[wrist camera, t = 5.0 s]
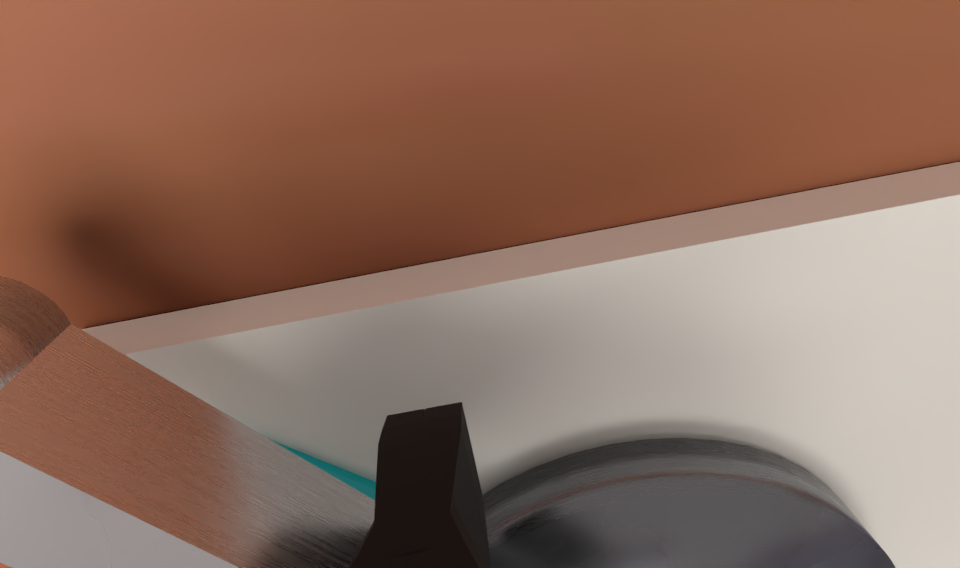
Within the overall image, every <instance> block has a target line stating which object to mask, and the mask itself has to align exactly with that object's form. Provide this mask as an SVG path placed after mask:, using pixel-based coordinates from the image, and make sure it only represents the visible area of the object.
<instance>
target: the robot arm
mask: <svg viewBox="0 0 960 568" xmlns="http://www.w3.org/2000/svg"><path fill="white" fill-rule="evenodd" d="M347 568H490V556H489V544H488V535H487V527H486V519H485V512H484V504H483V496H482V491H481V486H480V482H479V477H478V473H477V468H476V464H475V459H474V455H473V450H472V446H471V441H470V437H469V432H468V428H467V423H466V419H465V414H464V410H463V405H462V402H458V403H453V404H447V405H442V406H436V407H431V408H426V409H425V410H424V409H420V410H414V411H409V412H403V413H398V414H392V415H387V417H386V420H385V423H384V426H383V428H382V432H381V435H380V439H379V443H378V456H377V473H376V493H375V513H374V522H373V523H372V525H371V527H370V529H369V531H368V532H367V534H366V536H365V538H364V540H363V541H362V543H361V545H360V547H359V549H358V550H357V552H356V554H355V556H354V557H353V559H352V560H351V562H350V564H349V565H348V567H347Z"/></svg>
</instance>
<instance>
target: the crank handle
mask: <svg viewBox="0 0 960 568" xmlns="http://www.w3.org/2000/svg"><path fill="white" fill-rule="evenodd" d="M482 496H483V504H484V512H485V519H486V527H487V535H488V544H489V556H490V568H896V567H895V566H894V564H893V562H892V561H891V559H890V558H889V556H888V555H887V554H886V553H885V551H884V550H883V549H882V548H881V547H880V545H879V544H878V543H877V542H876V541H875V539H874V538H873V537H872V536H871V535H870V533H869V532H868V531H867V530H866V529H865V527H864V526H863V525H862V524H861V523H860V521H859V520H858V519H857V518H856V517H855V515H854V514H853V513H852V512H851V511H850V509H849V508H848V507H847V506H846V504H845V503H844V502H843V501H842V500H841V499H840V498H839V497H838V496H837V495H836V494H835V493H834V492H833V491H832V489H831V488H830V487H829V486H828V485H827V484H825V483H824V482H823V481H821V480H820V479H818V478H817V477H816V476H814V475H813V474H812V473H810V472H809V471H807V470H806V469H804V468H802V467H800V466H798V465H796V464H794V463H792V462H790V461H788V460H786V459H784V458H782V457H780V456H778V455H775V454H772V453H769V452H766V451H763V450H760V449H757V448H754V447H750V446H745V445H740V444H735V443H730V442H724V441H719V440H707V439H693V438H664V439H644V440H637V441H630V442H623V443H616V444H609V445H605V446H601V447H597V448H593V449H589V450H585V451H581V452H577V453H573V454H569V455H567V456H564V457H561V458H558V459H556V460H553V461H550V462H547V463H545V464H542V465H539V466H536V467H534V468H532V469H530V470H528V471H526V472H523V473H521V474H519V475H517V476H515V477H513V478H511V479H509V480H507V481H505V482H503V483H501V484H499V485H498V486H496V487H494V488H493V489H491V490H490V491H488V492H486V493H485V494H483V495H482ZM374 513H375V500H373V499H371V498H370V497H368V496H366V495H365V494H363V493H361V492H359V491H358V490H356V489H354V488H353V487H351V486H349V485H347V484H346V483H344V482H342V481H340V480H339V479H337V478H335V477H334V476H332V475H330V474H328V473H327V472H325V471H323V470H322V469H320V468H318V467H316V466H315V465H313V464H311V463H310V462H308V461H306V460H304V459H303V458H301V457H299V456H298V455H296V454H294V453H292V452H291V451H289V450H287V449H285V448H284V447H282V446H280V445H279V444H277V443H275V442H273V441H272V440H270V439H268V438H267V437H265V436H263V435H261V434H260V433H258V432H256V431H255V430H253V429H251V428H249V427H248V426H246V425H244V424H243V423H241V422H239V421H237V420H236V419H234V418H232V417H230V416H229V415H227V414H225V413H224V412H222V411H220V410H218V409H217V408H215V407H213V406H212V405H210V404H208V403H206V402H205V401H203V400H201V399H200V398H198V397H196V396H194V395H193V394H191V393H189V392H188V391H186V390H184V389H182V388H181V387H179V386H177V385H175V384H174V383H172V382H170V381H169V380H167V379H165V378H163V377H162V376H160V375H158V374H157V373H155V372H153V371H151V370H150V369H148V368H146V367H145V366H143V365H141V364H139V363H138V362H136V361H134V360H133V359H131V358H129V357H127V356H126V355H124V354H122V353H120V352H119V351H117V350H115V349H114V348H112V347H110V346H108V345H107V344H105V343H103V342H102V341H100V340H98V339H96V338H95V337H93V336H91V335H90V334H88V333H86V332H84V331H83V330H81V329H79V328H78V327H76V326H74V325H72V324H71V323H70V321H69V320H68V318H67V316H66V315H65V314H64V313H63V312H62V310H61V309H60V308H59V307H58V306H57V305H56V304H55V303H54V302H53V301H51V300H50V299H49V298H48V297H47V296H45V295H44V294H42V293H41V292H39V291H38V290H36V289H34V288H32V287H30V286H28V285H26V284H24V283H21V282H19V281H16V280H13V279H10V278H6V277H1V276H0V563H3V564H5V565H7V566H10V567H12V568H347V567H348V565H349V564H350V562H351V560H352V559H353V557H354V556H355V554H356V552H357V550H358V549H359V547H360V545H361V543H362V541H363V540H364V538H365V536H366V534H367V532H368V531H369V529H370V527H371V525H372V523H373V522H374Z"/></svg>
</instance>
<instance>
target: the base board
mask: <svg viewBox="0 0 960 568" xmlns="http://www.w3.org/2000/svg"><path fill="white" fill-rule="evenodd" d="M83 331H84V332H86V333H88V334H90V335H91V336H93V337H95V338H96V339H98V340H100V341H102V342H103V343H105V344H107V345H108V346H110V347H112V348H114V349H115V350H117V351H119V352H120V353H122V354H124V355H126V356H127V357H129V358H131V359H133V360H134V361H136V362H138V363H139V364H141V365H143V366H145V367H146V368H148V369H150V370H151V371H153V372H155V373H157V374H158V375H160V376H162V377H163V378H165V379H167V380H169V381H170V382H172V383H174V384H175V385H177V386H179V387H181V388H182V389H184V390H186V391H188V392H189V393H191V394H193V395H194V396H196V397H198V398H200V399H201V400H203V401H205V402H206V403H208V404H210V405H212V406H213V407H215V408H217V409H218V410H220V411H222V412H224V413H225V414H227V415H229V416H230V417H232V418H234V419H236V420H237V421H239V422H241V423H243V424H244V425H246V426H248V427H249V428H251V429H253V430H255V431H256V432H258V433H260V434H261V435H263V436H265V437H267V438H268V439H270V440H272V441H273V442H275V443H277V444H279V445H280V446H282V447H284V448H285V449H287V450H289V451H291V452H292V453H294V454H296V455H298V456H299V457H301V458H303V459H304V460H306V461H308V462H310V463H311V464H313V465H315V466H316V467H318V468H320V469H322V470H323V471H325V472H327V473H328V474H330V475H332V476H334V477H335V478H337V479H339V480H340V481H342V482H344V483H346V484H347V485H349V486H351V487H353V488H354V489H356V490H358V491H359V492H361V493H363V494H365V495H366V496H368V497H370V498H371V499H373V500H375V493H376V473H377V456H378V443H379V439H380V435H381V432H382V428H383V426H384V423H385V420H386V417H387V415H392V414H398V413H403V412H409V411H414V410H420V409H424V410H425V409H426V408H431V407H436V406H442V405H447V404H453V403H458V402H462V405H463V410H464V414H465V419H466V423H467V428H468V432H469V437H470V441H471V446H472V450H473V455H474V459H475V464H476V468H477V473H478V477H479V482H480V486H481V491H482V495H483V494H485V493H486V492H488V491H490V490H491V489H493V488H494V487H496V486H498V485H499V484H501V483H503V482H505V481H507V480H509V479H511V478H513V477H515V476H517V475H519V474H521V473H523V472H526V471H528V470H530V469H532V468H534V467H536V466H539V465H542V464H545V463H547V462H550V461H553V460H556V459H558V458H561V457H564V456H567V455H569V454H573V453H577V452H581V451H585V450H589V449H593V448H597V447H601V446H605V445H609V444H616V443H623V442H630V441H637V440H644V439H664V438H693V439H707V440H719V441H724V442H730V443H735V444H740V445H745V446H750V447H754V448H757V449H760V450H763V451H766V452H769V453H772V454H775V455H778V456H780V457H782V458H784V459H786V460H788V461H790V462H792V463H794V464H796V465H798V466H800V467H802V468H804V469H806V470H807V471H809V472H810V473H812V474H813V475H814V476H816V477H817V478H818V479H820V480H821V481H823V482H824V483H825V484H827V485H828V486H829V487H830V488H831V489H832V491H833V492H834V493H835V494H836V495H837V496H838V497H839V498H840V499H841V500H842V501H843V502H844V503H845V504H846V506H847V507H848V508H849V509H850V511H851V512H852V513H853V514H854V515H855V517H856V518H857V519H858V520H859V521H860V523H861V524H862V525H863V526H864V527H865V529H866V530H867V531H868V532H869V533H870V535H871V536H872V537H873V538H874V539H875V541H876V542H877V543H878V544H879V545H880V547H881V548H882V549H883V550H884V551H885V553H886V554H887V555H888V556H889V558H890V559H891V561H892V562H893V564H894V566H895V567H896V568H960V162H955V163H950V164H945V165H939V166H934V167H929V168H924V169H918V170H913V171H908V172H903V173H898V174H892V175H887V176H882V177H877V178H871V179H866V180H861V181H856V182H850V183H845V184H840V185H835V186H829V187H824V188H819V189H814V190H809V191H803V192H798V193H793V194H788V195H782V196H777V197H772V198H767V199H761V200H756V201H751V202H746V203H740V204H735V205H730V206H725V207H719V208H714V209H709V210H704V211H699V212H693V213H688V214H683V215H678V216H672V217H667V218H662V219H657V220H651V221H646V222H641V223H636V224H630V225H625V226H620V227H615V228H609V229H604V230H599V231H594V232H589V233H583V234H578V235H573V236H568V237H562V238H557V239H552V240H547V241H541V242H536V243H531V244H526V245H520V246H515V247H510V248H505V249H500V250H494V251H489V252H484V253H479V254H473V255H468V256H463V257H458V258H452V259H447V260H442V261H437V262H431V263H426V264H421V265H416V266H410V267H405V268H400V269H395V270H390V271H384V272H379V273H374V274H369V275H363V276H358V277H353V278H348V279H342V280H337V281H332V282H327V283H321V284H316V285H311V286H306V287H300V288H295V289H290V290H285V291H280V292H274V293H269V294H264V295H259V296H253V297H248V298H243V299H238V300H232V301H227V302H222V303H217V304H211V305H206V306H201V307H196V308H191V309H185V310H180V311H175V312H170V313H164V314H159V315H154V316H149V317H143V318H138V319H133V320H128V321H122V322H117V323H112V324H107V325H101V326H96V327H91V328H86V329H83Z"/></svg>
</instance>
